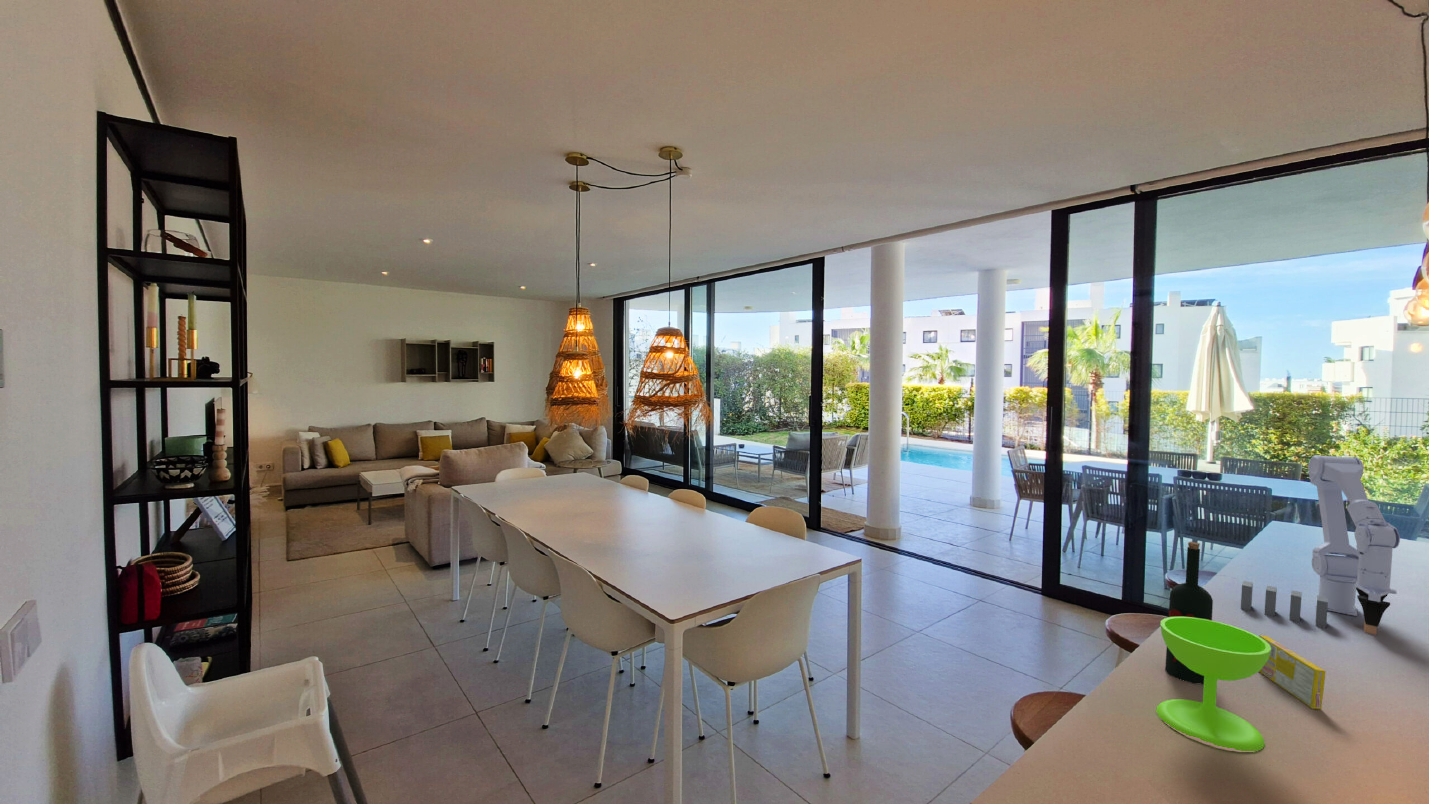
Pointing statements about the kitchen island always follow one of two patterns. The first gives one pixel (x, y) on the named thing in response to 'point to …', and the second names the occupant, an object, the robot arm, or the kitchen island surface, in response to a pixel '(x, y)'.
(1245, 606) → the tile
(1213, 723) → the wineglass
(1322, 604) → the tile
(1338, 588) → the robot arm
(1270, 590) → the tile
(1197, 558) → the wine bottle
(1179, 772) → the kitchen island surface
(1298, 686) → the candy box
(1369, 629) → the tile head
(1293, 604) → the tile
